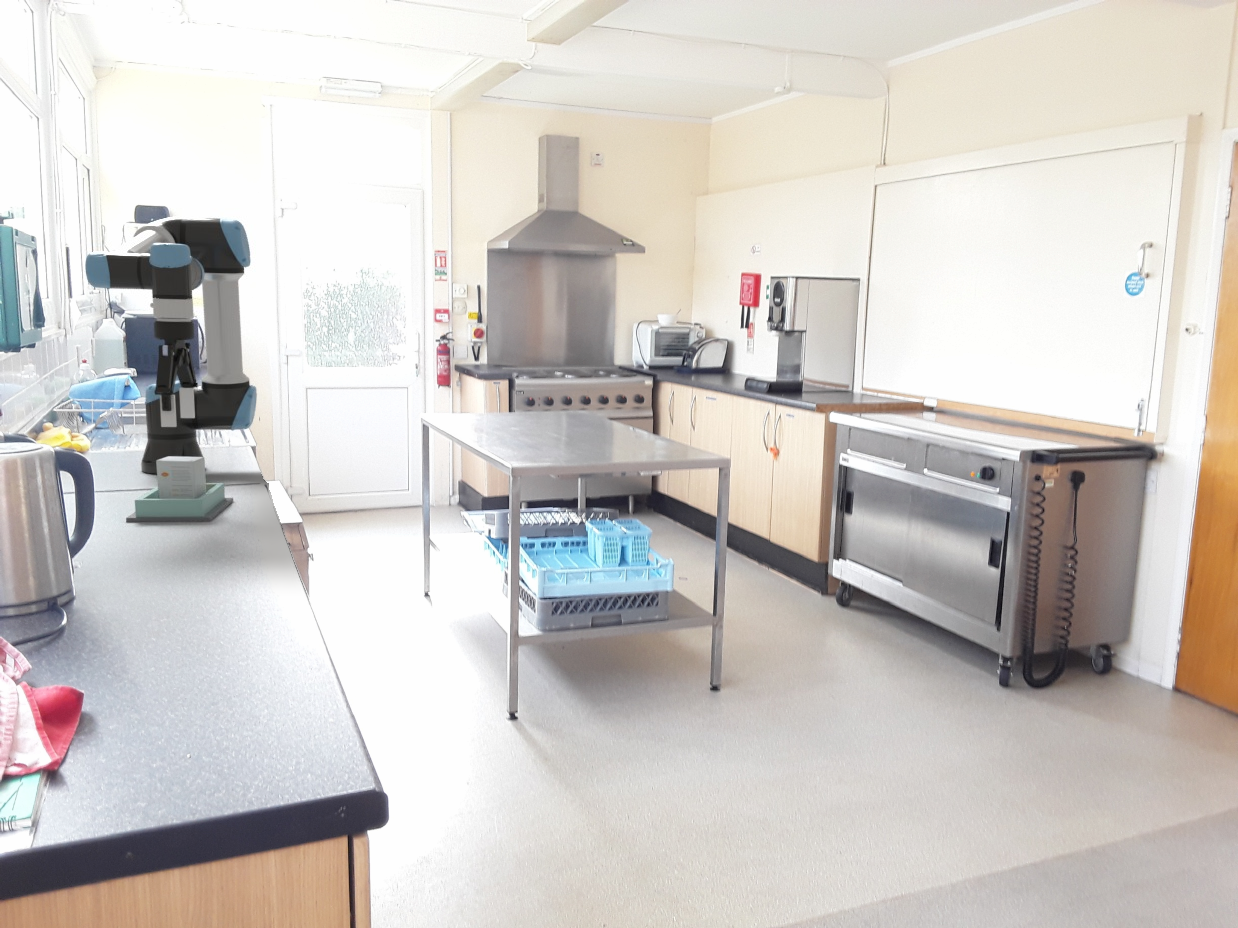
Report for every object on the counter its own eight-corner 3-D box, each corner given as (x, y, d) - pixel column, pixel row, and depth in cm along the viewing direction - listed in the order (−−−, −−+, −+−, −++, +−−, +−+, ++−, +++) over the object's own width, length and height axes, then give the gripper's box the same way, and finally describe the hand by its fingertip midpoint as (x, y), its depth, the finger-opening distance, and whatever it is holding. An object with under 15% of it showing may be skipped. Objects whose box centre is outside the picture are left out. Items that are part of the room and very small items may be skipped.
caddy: (157, 501, 210) (156, 482, 209) (233, 501, 212) (232, 482, 212) (126, 521, 190) (125, 500, 190) (210, 521, 193) (209, 500, 192)
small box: (207, 504, 205) (205, 456, 203) (196, 510, 199) (194, 460, 197) (170, 503, 204) (168, 455, 203) (158, 509, 199) (155, 459, 197)
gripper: (172, 317, 206) (177, 414, 210) (133, 321, 182) (140, 430, 186) (208, 318, 208) (212, 414, 211) (175, 322, 183) (180, 430, 187)
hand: (178, 422), depth 199 cm, fingers open, 13 cm apart
